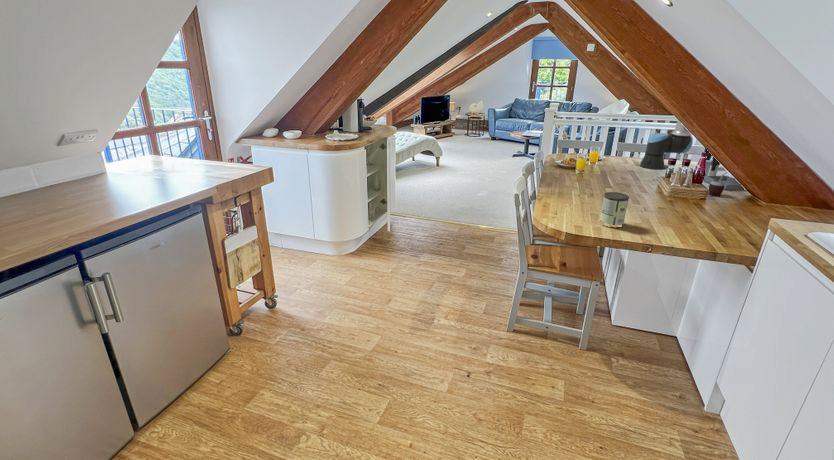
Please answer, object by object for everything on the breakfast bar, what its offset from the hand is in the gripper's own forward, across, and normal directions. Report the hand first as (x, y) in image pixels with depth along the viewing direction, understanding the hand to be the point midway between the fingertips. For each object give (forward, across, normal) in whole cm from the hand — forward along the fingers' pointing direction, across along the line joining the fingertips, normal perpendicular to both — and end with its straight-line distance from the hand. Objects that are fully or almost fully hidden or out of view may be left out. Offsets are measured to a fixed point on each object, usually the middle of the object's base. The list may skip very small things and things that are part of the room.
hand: (707, 174), depth 246 cm
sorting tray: (+7, -1, +14) cm, 16 cm away
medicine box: (+1, 0, 0) cm, 1 cm away
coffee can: (+6, +62, -85) cm, 105 cm away
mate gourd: (+7, +19, -6) cm, 21 cm away
